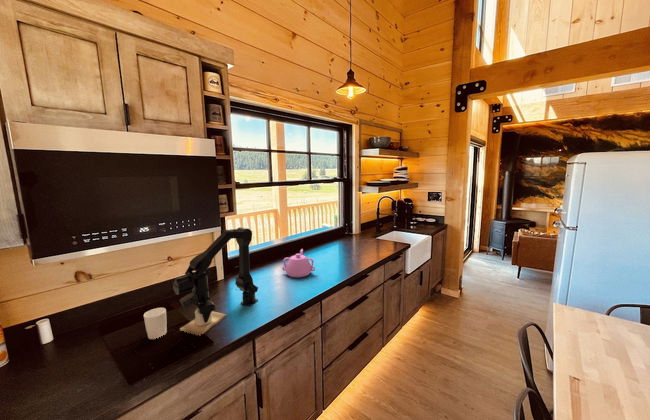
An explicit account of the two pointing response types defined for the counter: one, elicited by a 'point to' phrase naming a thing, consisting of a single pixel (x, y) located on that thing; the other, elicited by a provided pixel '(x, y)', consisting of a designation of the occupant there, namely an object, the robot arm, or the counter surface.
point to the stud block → (200, 329)
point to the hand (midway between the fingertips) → (203, 318)
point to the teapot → (298, 265)
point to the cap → (201, 318)
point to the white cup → (155, 322)
